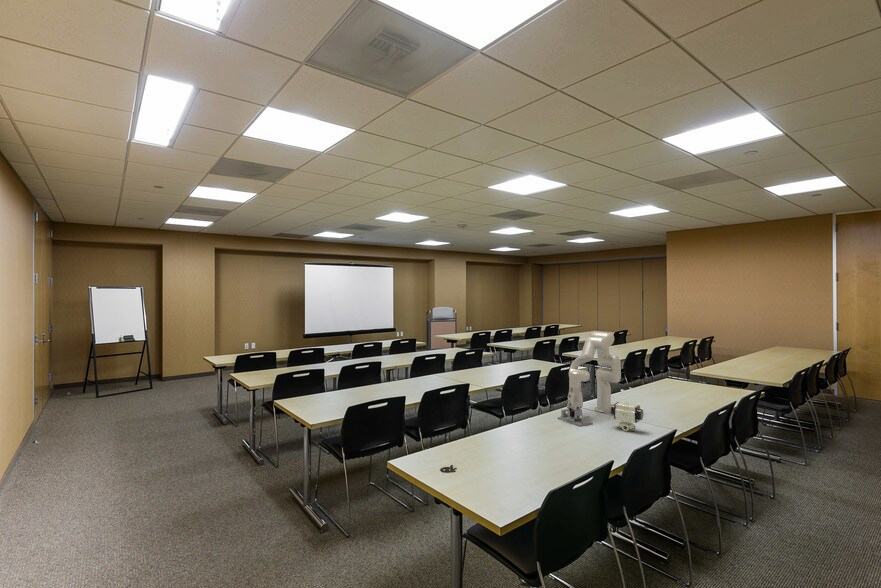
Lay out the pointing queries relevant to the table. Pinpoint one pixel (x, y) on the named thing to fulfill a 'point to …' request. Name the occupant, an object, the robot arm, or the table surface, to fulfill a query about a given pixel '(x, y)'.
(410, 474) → the table surface
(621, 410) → the ball valve
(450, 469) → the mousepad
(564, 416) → the shaft stand
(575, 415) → the coupler
